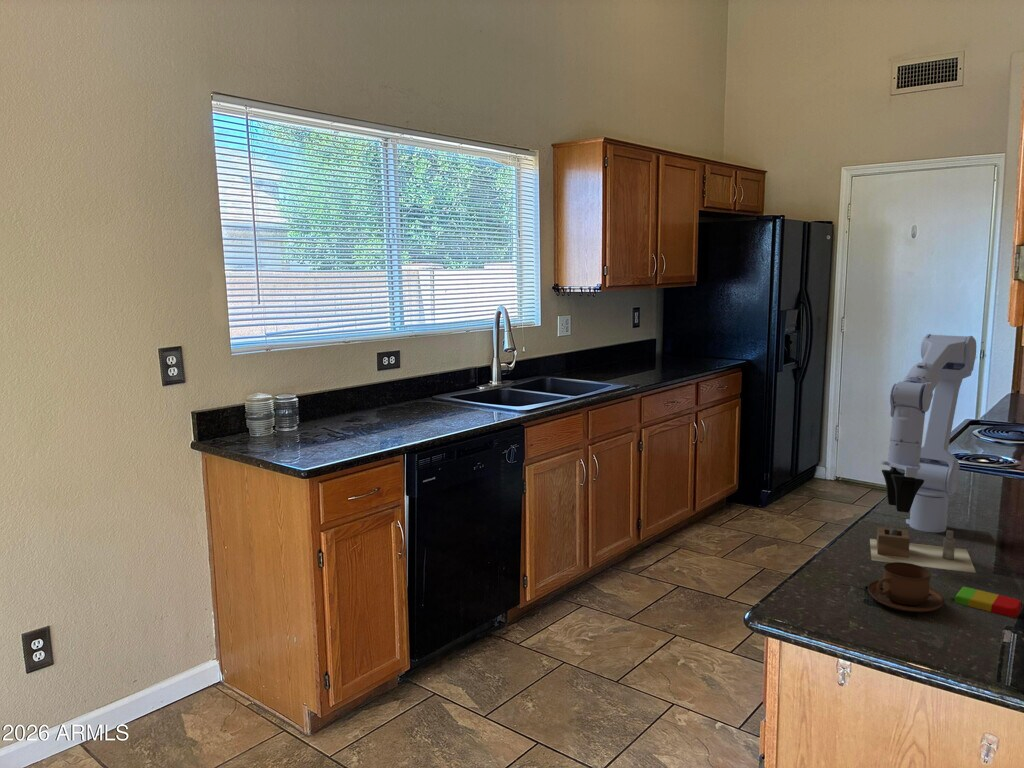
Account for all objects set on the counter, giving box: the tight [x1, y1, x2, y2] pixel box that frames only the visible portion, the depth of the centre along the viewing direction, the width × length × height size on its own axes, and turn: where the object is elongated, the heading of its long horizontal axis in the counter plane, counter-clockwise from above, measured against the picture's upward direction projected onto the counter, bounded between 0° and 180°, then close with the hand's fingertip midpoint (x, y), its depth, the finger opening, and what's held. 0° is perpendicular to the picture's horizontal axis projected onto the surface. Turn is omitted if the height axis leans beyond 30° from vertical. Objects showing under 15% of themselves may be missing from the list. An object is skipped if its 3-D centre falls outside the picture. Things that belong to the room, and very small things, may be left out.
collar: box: [876, 526, 911, 558], centre depth 156 cm, size 6×6×4 cm
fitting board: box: [869, 528, 977, 574], centre depth 154 cm, size 13×18×6 cm
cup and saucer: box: [867, 562, 945, 613], centre depth 135 cm, size 12×12×6 cm
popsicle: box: [953, 586, 1022, 618], centre depth 135 cm, size 6×15×2 cm, turn 47°
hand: (898, 508), depth 154 cm, fingers open, 7 cm apart
